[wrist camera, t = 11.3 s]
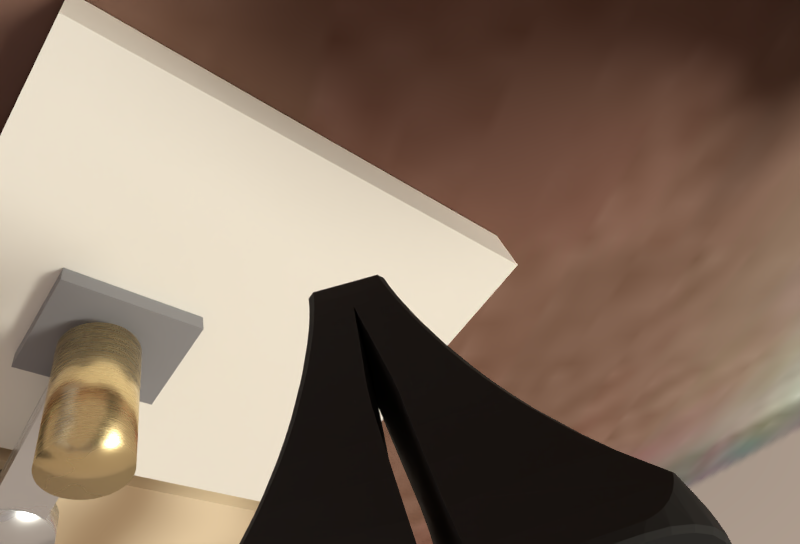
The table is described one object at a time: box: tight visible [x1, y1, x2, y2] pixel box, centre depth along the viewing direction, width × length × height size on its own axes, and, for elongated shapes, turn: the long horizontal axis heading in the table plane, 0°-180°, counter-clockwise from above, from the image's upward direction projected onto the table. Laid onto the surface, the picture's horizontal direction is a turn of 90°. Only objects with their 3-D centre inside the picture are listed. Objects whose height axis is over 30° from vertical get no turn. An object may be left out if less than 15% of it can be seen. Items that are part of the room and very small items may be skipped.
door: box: [0, 0, 517, 501], centre depth 23 cm, size 16×14×3 cm
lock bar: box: [0, 322, 142, 544], centre depth 20 cm, size 11×3×4 cm, turn 144°
